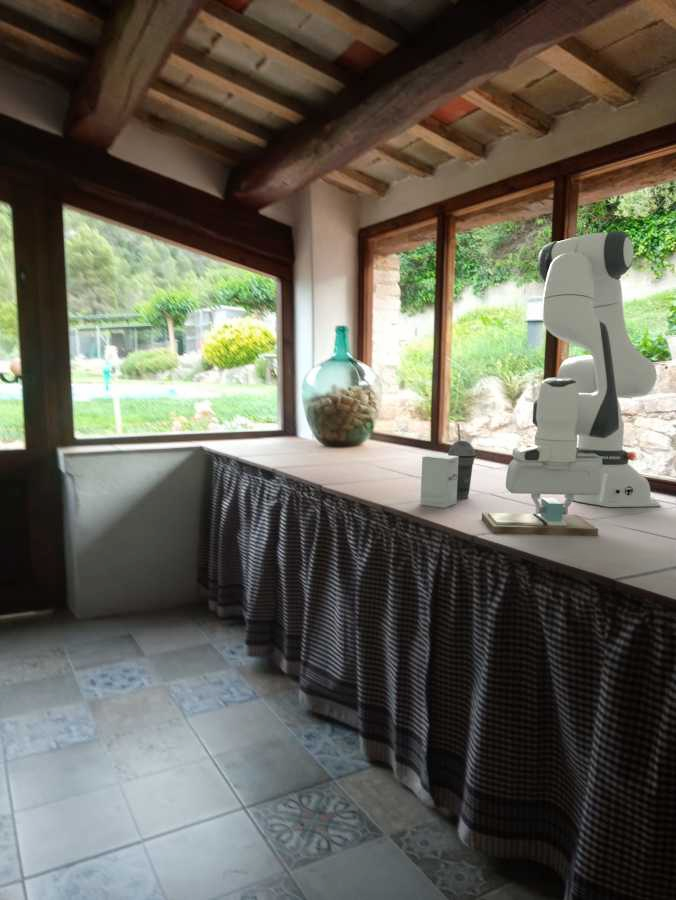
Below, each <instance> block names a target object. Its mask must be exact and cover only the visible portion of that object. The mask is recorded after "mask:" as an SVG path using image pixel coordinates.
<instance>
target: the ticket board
mask: <svg viewBox="0 0 676 900" xmlns="http://www.w3.org/2000/svg"><path fill="white" fill-rule="evenodd" d="M481 520H482V522H483V523H484V524H485V525H486V526H487V527H488V529H489V530H490V531H491V533H493V534H504V535H505V534H509V535H511V534H513V535H544V536H545V535H551V536H552V535H553V536H557V535H559V536H585V537H586V536H587V537H589V536H591V537H593V536H598V535H599V528H598V527H596V526H594V525H593V524H592V523H590V522H588V521H587V520H586V519H584V518H582V517H580V516H579V515H578V514H567V515H563V517H562V520H563V521H564V522H565V523H567V526H558V525H547V522H544V520H542V518H540V517H539V516H538V515H537V513H536V512H535V513H518V512H517V513H515V512H514V513H512V512H509V513H508V512H500V513H499V512H481Z"/></svg>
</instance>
